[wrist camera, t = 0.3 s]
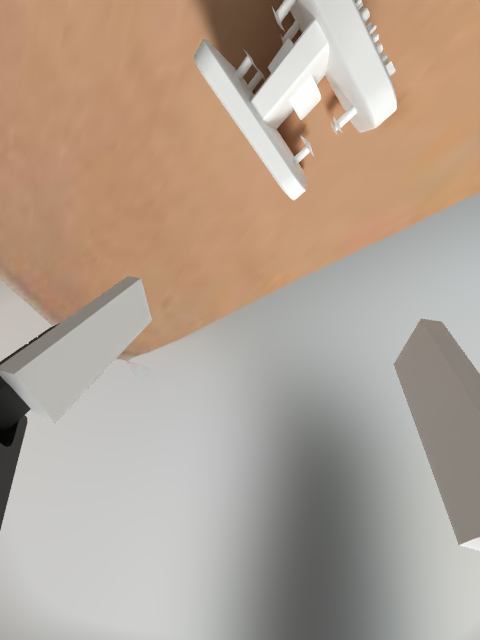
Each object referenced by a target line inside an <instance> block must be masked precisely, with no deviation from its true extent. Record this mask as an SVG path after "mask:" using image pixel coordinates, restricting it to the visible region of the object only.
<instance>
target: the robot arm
mask: <svg viewBox="0 0 480 640" xmlns="http://www.w3.org/2000/svg"><path fill="white" fill-rule="evenodd" d="M151 321H152V319H151V315H150V311H149V307H148V303H147V300H146V296H145V292H144V288H143V284H142V280H141V278H136V277H129V276H128V277H126V278H125V279H124V280H122V281H121V282H119V283H118V284H116V285H115V286H114V287H112V288H111V289H109V290H108V291H106V292H105V293H103V294H102V295H101V296H99V297H98V298H96V299H95V300H93V301H92V302H90V303H89V304H88V305H86V306H85V307H83V308H82V309H80V310H79V311H77V312H76V313H75V314H73V315H72V316H70V317H69V318H67V319H66V320H65V321H63V322H62V323H60V324H57V325H55V326H53V327H51V328H49V329H48V330H46V331H45V332H43V333H42V334H40V335H39V336H38V338H37V337H36V338H34V339H33V340H31V341H30V342H29V344H26V345H24V346H23V347H21V348H20V349H18V350H17V351H16V352H14V353H13V354H11V355H10V356H8V357H7V358H5V359H4V360H2V361H1V362H0V529H1V525H2V520H3V517H4V513H5V509H6V505H7V501H8V497H9V493H10V489H11V485H12V481H13V477H14V473H15V469H16V465H17V461H18V457H19V453H20V449H21V445H22V442H23V438H24V433H25V430H26V426H27V417H26V416H25V414H26V413H27V412H28V411H29V410H30V409H31V410H32V411H33V412H34V414H35V415H36V416H37V417H38V418H40V419H43V420H46V421H49V422H53V423H56V422H57V421H58V420H59V419H60V418H61V417H62V416H63V415H64V413H65V412H66V411H67V410H68V409H69V408H70V407H71V406H72V405H73V404H74V403H75V402H76V401H77V400H78V399H79V398H80V396H81V395H82V394H83V393H84V392H85V391H86V390H87V389H88V388H89V387H90V386H91V385H92V384H93V383H94V382H95V381H96V379H97V378H98V377H99V376H100V375H101V374H102V373H103V372H104V371H105V370H106V369H107V368H108V367H109V366H110V364H111V363H112V362H113V361H114V360H115V359H116V358H117V357H118V356H119V355H120V354H121V353H122V352H123V351H124V350H125V349H126V348H127V346H128V345H129V344H130V343H131V342H132V341H133V340H134V339H135V338H136V337H137V336H138V335H139V334H140V333H141V332H142V330H143V329H144V328H145V327H146V326H147V325H148V324H149V323H150V322H151ZM394 366H395V369H396V371H397V374H398V377H399V380H400V383H401V385H402V388H403V391H404V394H405V397H406V399H407V402H408V405H409V408H410V411H411V413H412V416H413V419H414V421H415V424H416V427H417V430H418V433H419V435H420V438H421V441H422V444H423V447H424V449H425V452H426V455H427V458H428V460H429V463H430V466H431V469H432V472H433V474H434V477H435V480H436V482H437V485H438V488H439V491H440V494H441V497H442V499H443V502H444V505H445V508H446V510H447V513H448V516H449V519H450V521H451V524H452V527H453V530H454V533H455V535H456V538H457V541H458V544H459V545H461V546H464V547H467V548H471V549H474V550H477V551H480V374H479V373H478V371H477V370H476V368H475V367H474V366H473V364H472V363H471V361H470V360H469V359H468V358H467V356H466V355H465V353H464V352H463V350H462V349H461V348H460V346H459V345H458V344H457V342H456V341H455V339H454V338H453V337H452V335H451V334H450V332H448V330H447V328H446V327H445V325H444V324H443V323H442V322H440V321H432V320H425V319H421V320H420V321H419V323H418V325H417V326H416V328H415V330H414V331H413V333H412V335H411V336H410V338H409V340H408V342H407V343H406V345H405V347H404V348H403V350H402V352H401V353H400V355H399V357H398V358H397V360H396V362H395V363H394Z"/></svg>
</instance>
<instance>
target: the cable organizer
mask: <svg viewBox="0 0 480 640" xmlns="http://www.w3.org/2000/svg"><path fill="white" fill-rule="evenodd" d="M362 7H363V3H362V1H361V0H284V1H283V3H282V4H281V6H280V7H279V9H278V10H277V11H276V13H275V11H274V9H273V7H272V9H273V12H274V15H275V18H276V21H277V23H278V25H279V26H280V28H281V29H283V30H284V28H283V26H282V24H281V22H282V21H283V19H284V18H285V17H286V15H287V14H288V12H289V11H290V12H291V14H292V16H293V17H294V19H295V22H294V23H293V24H292V26H291V27H290V28H289V30H288V31H287V33H286V34H285V35H284V37H282V36H281V38H282V41H283V46H282V47H281V49H280V50H279V52H278V53H277V54H276V56H275V57H274V59H273V60H272V62H271V63H270V65H269V66H268V69H269V71H270V73H271V74H270V76H269V77H268V78H267V79H266V81H265V82H264V83H263V85H262V86H261V87H260V89H259V90H258V91H257V92H256V94H255V95H254V94H253V92H252V91H253V90H254V88H255V87H256V86H257V84H258V83H259V82H260V80H261V79H262V78H263V79H264V80H265V78H264V76H263V73H262V72H261V71H260V70H259V69H258V68H257V67H256V66H255V64H254V62H253V59H252V58H251V57H250V55H249V54H248V53H247V52H246V51H245V50H244V51H245V52H246V54H247V56H246V58H245V59H244V61H243V62H242V64H241V65H240V66H239V68H238V69H237V70H236V69H235V68H234V67H233V66H232V65H231V64H230V63H229V62H228V61H227V60H226V59H225V58H224V57H223V56H222V55H221V54H220V52H219V51H218V50H217V49H216V48H215V47H214V46H213V45H212V44H211V43H210V42H209V41H207V40H206V39H203V41H202V43H201V44H200V46H199V48H198V50H197V51H196V53H195V55H194V60H195V63H196V65H197V67H198V68H199V70H200V72H201V74H202V75H203V77H204V78H205V80H206V81H207V83H208V84H209V86H210V87H211V89H212V90H213V91H214V93H215V94H216V96H217V97H218V99H219V100H220V101H221V103H222V104H223V106H224V107H225V109H226V110H227V111H228V113H229V114H230V116H231V117H232V119H233V120H234V121H235V123H236V124H237V126H238V127H239V129H240V130H241V131H242V133H243V134H244V136H245V137H246V139H247V140H248V141H249V143H250V144H251V146H252V147H253V149H254V150H255V151H256V153H257V154H258V156H259V157H260V159H261V160H262V161H263V163H264V164H265V166H266V167H267V169H268V170H269V171H270V173H271V174H272V176H273V177H274V179H275V180H276V181H277V183H278V184H279V186H280V187H281V188H282V189H283V191H284V192H285V193H286V194H287V195H288V196H289V197H290V198H291V199H292V200H295V199H297V198H298V197H299V196H300V195H301V194H302V193H304V192H305V191H306V187H307V183H308V180H307V177H306V175H305V173H304V171H303V169H302V168H301V166H300V164H299V162H300V161H301V160H302V159H303V158H304V157H305V156H306V155H307V154H308V153H309V152H311V154H312V155H313V152H312V149H311V146H310V143H309V142H308V141H307V140H306V139H304V138H303V137H302V136H301V138H302V139H303V141H304V143H305V144H306V146H305V147H304V148H303V149H302V150H301V151H300V152H299V153H298V154H297V155H296V156H295V157H294V155H293V154H292V152H291V151H290V149H289V147H288V146H287V144H286V143H285V141H284V140H283V138H282V137H281V135H280V134H279V132H278V131H277V128H278V127H279V126H280V125H281V124H282V123H283V121H284V120H285V119H286V118H287V117H288V116H289V115H290V114H291V113H292V111H293V110H294V111H295V112H296V114H297V115H298V117H299V119H300V120H302V119H303V118H304V117H305V116H306V115H307V114H308V113H309V112H310V111H311V110H312V109H313V108H314V107H315V106H316V104H317V103H318V102H319V101H320V100H321V95H320V92H319V90H318V87H317V84H318V83H319V82H320V80H321V79H322V78H323V77H324V76H326V78H327V80H328V82H329V84H330V85H331V87H332V89H333V91H334V93H335V95H336V96H337V98H338V100H339V102H340V104H341V106H342V107H343V109H344V111H345V113H344V114H343V115H342V116H341V117H340V118H339V119H338V120H337V121H336V119H335V117H334V118H333V117H332V118H333V120H334V123H335V124H334V125H332V123H330V124H331V127H332V130H333V131H334V132H335V133H336V134H337V132H336V131H337V130H338V129H339V130H340V131H341V129H340V128H341V127H342V126H343V125H344V124H345V123H347V122H348V121H349V120H350V121H351V123H352V124H353V126H354V127H355V128H356V129H357V130H358V131H359V132H360V133H362V132H365V131H368V130H371V129H374V128H376V127H377V126H378V125H380V124H381V123H382V122H383V121H384V120H385V119H387V118H388V117H389V116H390V115H391V114H392V113H394V112H395V111H396V109H397V99H396V94H395V90H394V87H393V84H392V81H391V79H390V76H391V75H392V74H393V73H394V72H395V71H396V70H395V68H394V66H393V64H392V61H391V62H390V63H389V64H388V65H387V66H386V67H385V65H386V64H387V63H388V57H387V55H386V54H383V55H382V56H381V57H380V54H381V53H382V52H383V47H382V44H381V43H380V42H378V43H377V44H376V46H375V43H376V42H377V40H378V39H379V38H378V36H379V34H377V33H375V34H374V35H373V33H374V31H375V29H376V25H375V26H374V27H373V24H372V23H370V24H369V25H368V26H367V27H366V23H367V21H368V19H369V16H370V13H369V11H368V9H367V7H365V8H364V9H363V10H362ZM361 10H362V11H361ZM299 29H300V30H301V32H302V34H301V36H300V37H299V38H298V39H297V41H296V42H295V43H294V44H293V42H292V41H291V40H292V38H293V37H294V36H295V34H296V33H297V32H298V30H299ZM284 31H285V30H284ZM280 35H281V34H280ZM372 35H373V36H372ZM252 64H253V65H254V67H255V68H257V69H258V72H257V73H256V74H255V76H254V77H253V79H252V80H251V81H250V83H249V84H247V83H246V81H245V80H244V79H243V77H244V75H245V74H246V72H247V71H248V70H249V68H250V67H251V65H252ZM257 69H256V70H257ZM333 116H334V115H333ZM341 132H342V131H341ZM342 134H343V133H342ZM337 135H338V134H337ZM313 157H314V156H313Z"/></svg>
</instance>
